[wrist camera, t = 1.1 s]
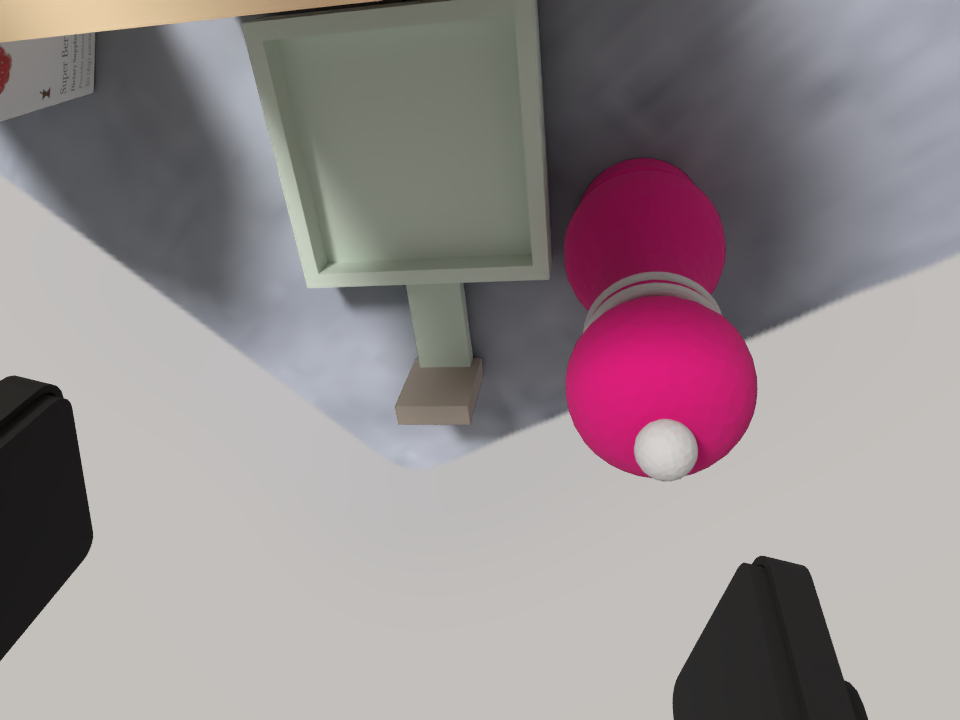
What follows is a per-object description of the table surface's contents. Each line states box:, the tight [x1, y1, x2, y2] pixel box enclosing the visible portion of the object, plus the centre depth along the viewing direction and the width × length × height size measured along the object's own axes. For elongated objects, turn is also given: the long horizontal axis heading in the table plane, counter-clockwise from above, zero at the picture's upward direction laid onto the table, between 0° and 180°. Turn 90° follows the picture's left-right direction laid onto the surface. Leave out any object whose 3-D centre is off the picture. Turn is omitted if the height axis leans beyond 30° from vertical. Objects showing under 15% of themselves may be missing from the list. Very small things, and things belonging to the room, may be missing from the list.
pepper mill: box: [564, 158, 757, 481], centre depth 28 cm, size 7×7×20 cm
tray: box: [241, 0, 553, 425], centre depth 36 cm, size 13×20×5 cm, turn 6°
